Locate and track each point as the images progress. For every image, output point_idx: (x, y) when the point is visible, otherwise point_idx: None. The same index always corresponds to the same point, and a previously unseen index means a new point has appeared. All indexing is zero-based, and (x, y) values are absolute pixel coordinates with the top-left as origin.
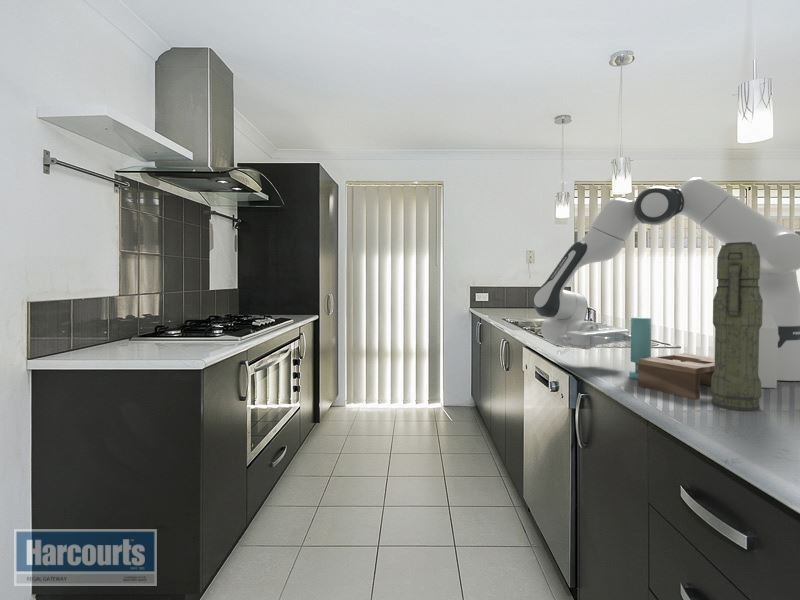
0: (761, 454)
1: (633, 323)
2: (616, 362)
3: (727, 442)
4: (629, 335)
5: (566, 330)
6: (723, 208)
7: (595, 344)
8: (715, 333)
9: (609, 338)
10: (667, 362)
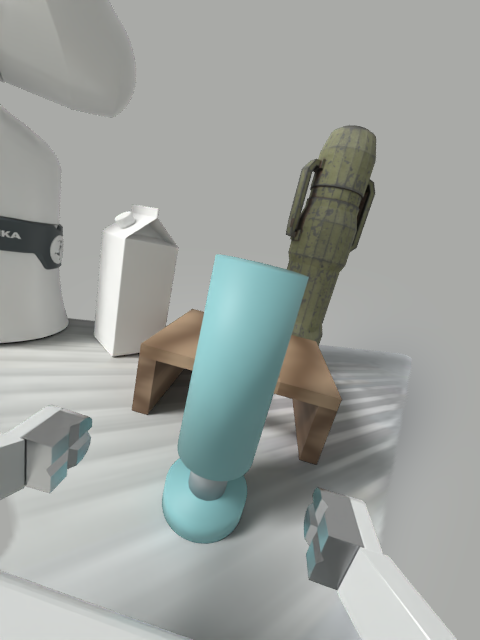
0: (389, 358)
1: (300, 303)
2: None
3: (396, 367)
4: (79, 416)
5: None
6: None
7: None
8: (332, 279)
9: (323, 489)
10: (312, 361)
